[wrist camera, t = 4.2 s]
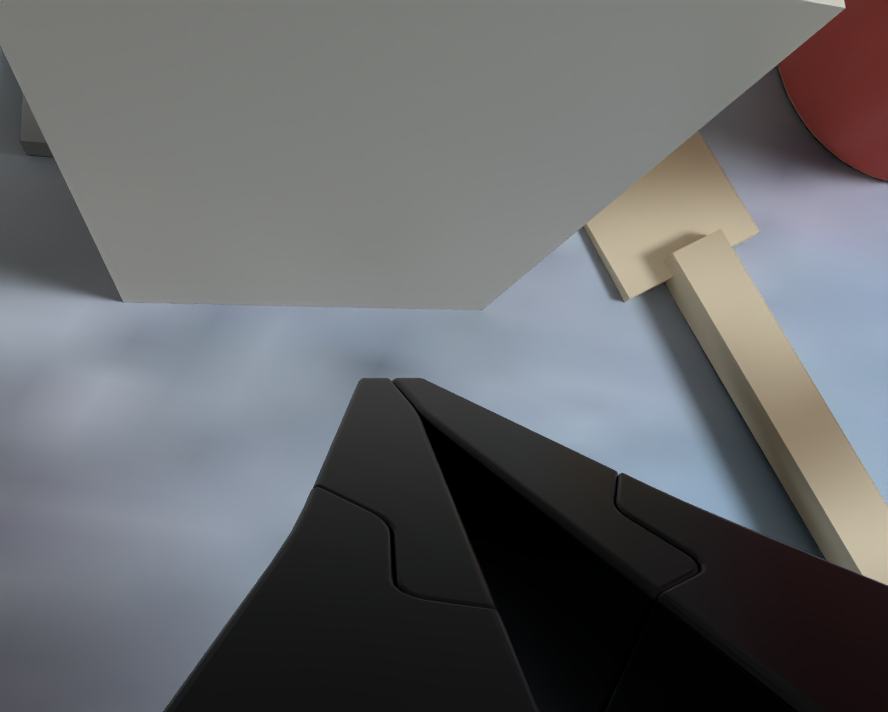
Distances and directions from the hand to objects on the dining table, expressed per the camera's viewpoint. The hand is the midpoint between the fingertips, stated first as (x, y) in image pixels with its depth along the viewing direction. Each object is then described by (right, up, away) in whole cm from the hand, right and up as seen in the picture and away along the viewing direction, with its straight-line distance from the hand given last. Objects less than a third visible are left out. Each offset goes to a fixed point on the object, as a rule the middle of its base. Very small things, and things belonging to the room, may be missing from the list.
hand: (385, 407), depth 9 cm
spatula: (+8, +1, +10) cm, 13 cm away
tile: (-2, +3, +7) cm, 8 cm away
